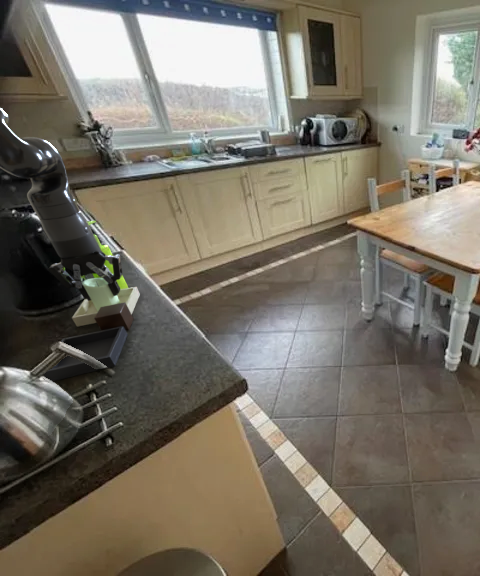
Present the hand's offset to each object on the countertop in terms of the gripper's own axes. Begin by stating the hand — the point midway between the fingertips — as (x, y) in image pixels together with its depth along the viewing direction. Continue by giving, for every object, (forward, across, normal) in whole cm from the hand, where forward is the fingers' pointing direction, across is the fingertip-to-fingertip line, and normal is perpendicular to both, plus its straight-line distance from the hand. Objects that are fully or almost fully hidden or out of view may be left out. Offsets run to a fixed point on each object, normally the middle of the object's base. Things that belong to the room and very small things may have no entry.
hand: (103, 296), depth 83 cm
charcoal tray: (+4, -1, +20) cm, 21 cm away
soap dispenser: (+4, +1, -11) cm, 12 cm away
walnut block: (+4, -4, +10) cm, 12 cm away
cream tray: (+4, 0, 0) cm, 4 cm away
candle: (+4, 0, 0) cm, 4 cm away
